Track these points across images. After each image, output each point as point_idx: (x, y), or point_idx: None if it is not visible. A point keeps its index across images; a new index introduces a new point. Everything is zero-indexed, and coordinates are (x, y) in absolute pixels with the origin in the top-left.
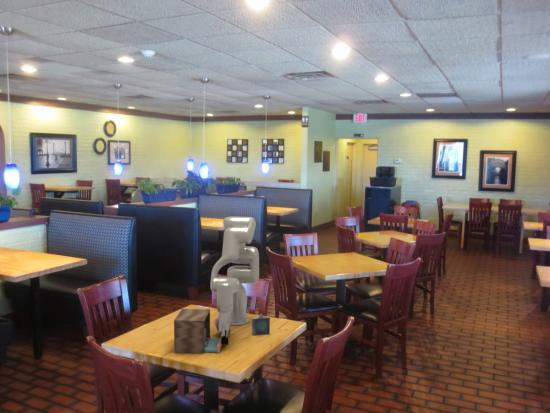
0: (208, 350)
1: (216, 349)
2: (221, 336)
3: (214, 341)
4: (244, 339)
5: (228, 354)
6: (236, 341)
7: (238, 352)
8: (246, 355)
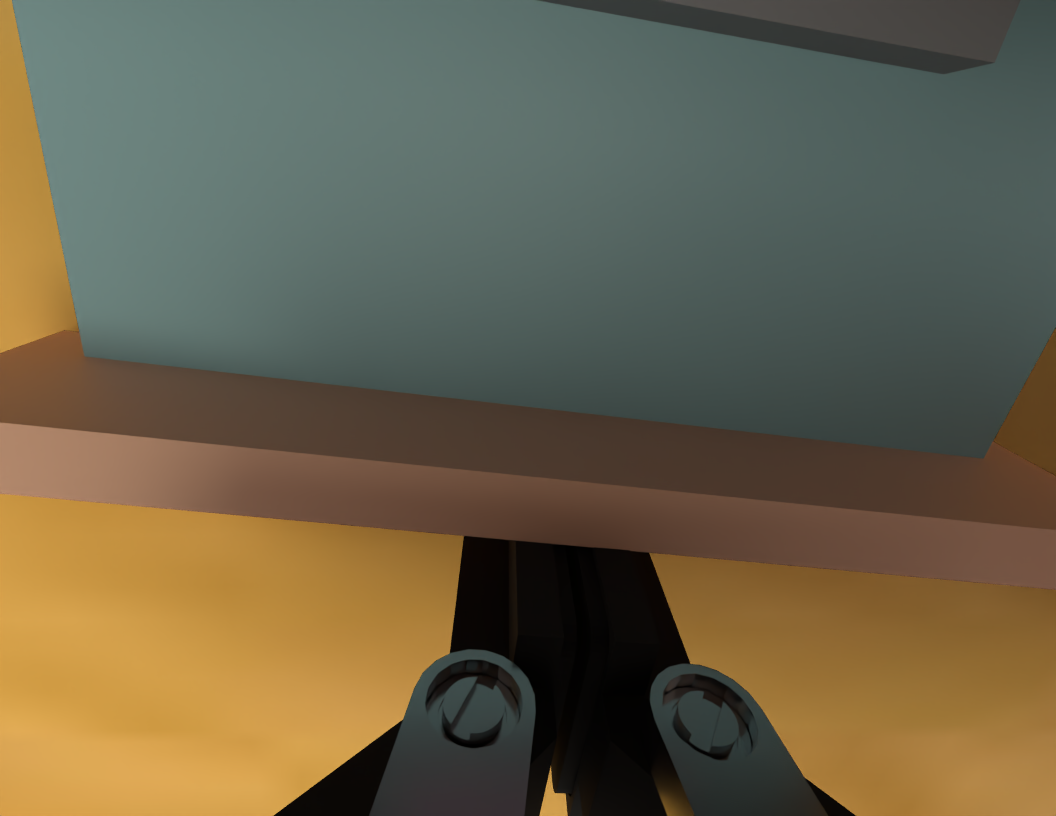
0: (39, 38)
1: (131, 330)
2: (856, 536)
3: (789, 255)
4: (819, 784)
5: (92, 569)
6: (768, 686)
7: (230, 716)
8: (119, 808)
